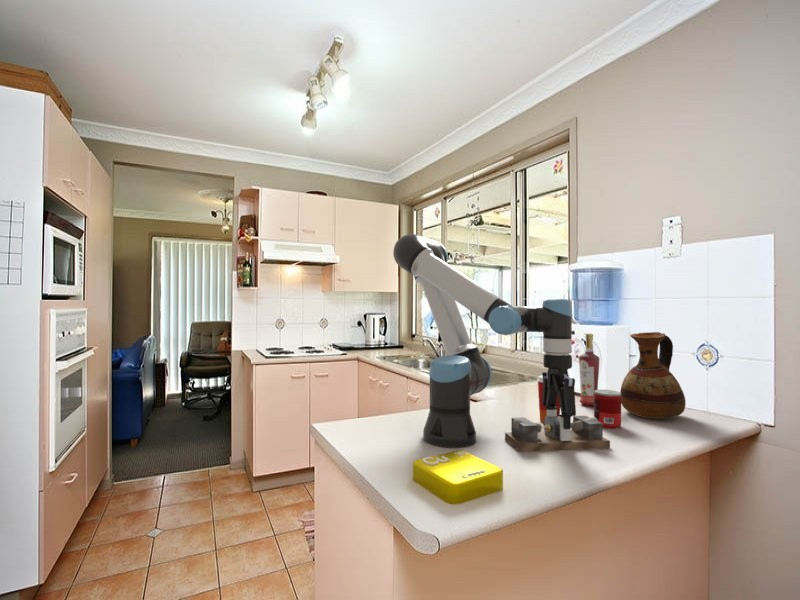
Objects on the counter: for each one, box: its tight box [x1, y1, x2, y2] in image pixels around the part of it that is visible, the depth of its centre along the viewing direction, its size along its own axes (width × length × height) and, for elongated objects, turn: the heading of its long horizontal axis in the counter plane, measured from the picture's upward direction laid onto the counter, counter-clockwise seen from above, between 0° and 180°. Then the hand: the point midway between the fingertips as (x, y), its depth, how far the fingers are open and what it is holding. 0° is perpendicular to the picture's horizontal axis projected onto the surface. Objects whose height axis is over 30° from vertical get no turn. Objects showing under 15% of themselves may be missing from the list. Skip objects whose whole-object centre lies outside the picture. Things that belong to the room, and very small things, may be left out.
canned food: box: [593, 389, 622, 430], centre depth 135 cm, size 8×8×11 cm
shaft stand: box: [504, 415, 611, 453], centre depth 116 cm, size 26×10×7 cm, turn 98°
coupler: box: [544, 416, 560, 440], centre depth 116 cm, size 7×5×5 cm
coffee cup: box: [535, 374, 561, 424], centre depth 138 cm, size 8×8×15 cm
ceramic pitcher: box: [619, 331, 687, 419], centre depth 148 cm, size 20×20×30 cm
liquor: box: [578, 333, 600, 408], centre depth 162 cm, size 7×7×28 cm
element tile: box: [412, 449, 504, 505], centre depth 90 cm, size 15×15×5 cm
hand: (558, 436), depth 115 cm, fingers open, 6 cm apart
